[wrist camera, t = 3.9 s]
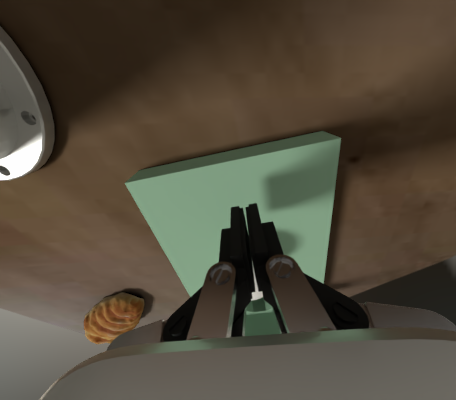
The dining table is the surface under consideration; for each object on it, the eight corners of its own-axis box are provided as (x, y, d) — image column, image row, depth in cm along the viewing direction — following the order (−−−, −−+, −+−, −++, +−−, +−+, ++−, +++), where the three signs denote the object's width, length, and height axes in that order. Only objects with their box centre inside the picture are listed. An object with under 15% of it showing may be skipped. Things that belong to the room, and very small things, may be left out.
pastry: (113, 281, 23) (95, 311, 20) (158, 299, 25) (149, 329, 22) (88, 309, 27) (69, 339, 23) (130, 322, 29) (118, 351, 26)
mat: (139, 170, 15) (103, 201, 10) (322, 130, 13) (368, 148, 9) (208, 306, 26) (204, 348, 22) (311, 293, 24) (329, 335, 20)
